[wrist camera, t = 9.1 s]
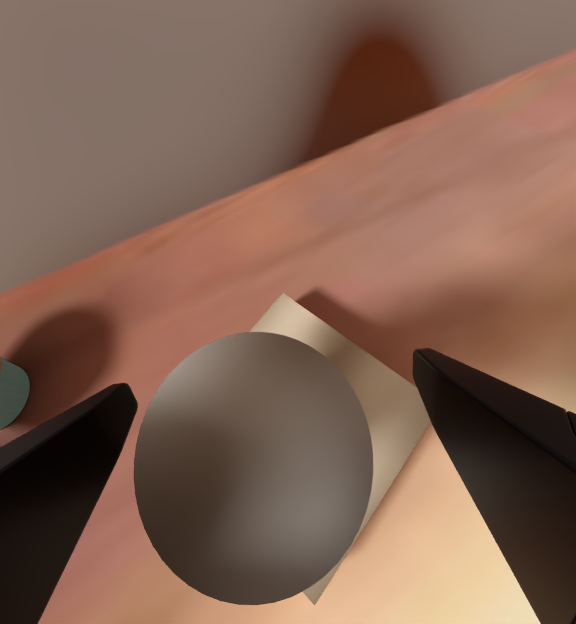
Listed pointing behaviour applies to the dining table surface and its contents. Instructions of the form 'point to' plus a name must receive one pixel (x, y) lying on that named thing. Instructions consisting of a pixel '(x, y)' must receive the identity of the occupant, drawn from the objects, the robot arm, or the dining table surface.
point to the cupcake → (12, 391)
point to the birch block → (371, 393)
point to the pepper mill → (253, 468)
